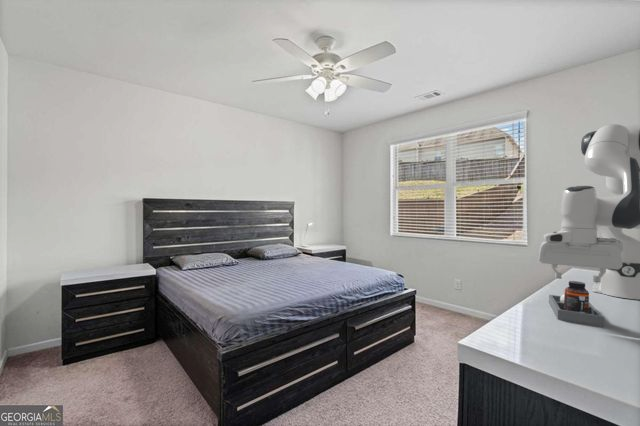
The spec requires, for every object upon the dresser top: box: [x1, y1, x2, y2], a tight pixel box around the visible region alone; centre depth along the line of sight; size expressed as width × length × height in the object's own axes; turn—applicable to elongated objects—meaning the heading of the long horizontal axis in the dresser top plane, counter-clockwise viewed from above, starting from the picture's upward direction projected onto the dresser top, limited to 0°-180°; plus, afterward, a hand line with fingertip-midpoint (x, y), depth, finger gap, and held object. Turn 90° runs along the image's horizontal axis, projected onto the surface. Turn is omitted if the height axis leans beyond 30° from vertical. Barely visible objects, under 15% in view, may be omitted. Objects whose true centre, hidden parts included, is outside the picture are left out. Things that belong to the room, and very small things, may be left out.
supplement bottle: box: [563, 280, 590, 314], centre depth 96 cm, size 6×6×11 cm
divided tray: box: [548, 294, 604, 328], centre depth 100 cm, size 20×11×4 cm, turn 149°
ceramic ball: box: [560, 293, 565, 303], centre depth 104 cm, size 6×6×6 cm
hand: (577, 280), depth 96 cm, fingers open, 8 cm apart
